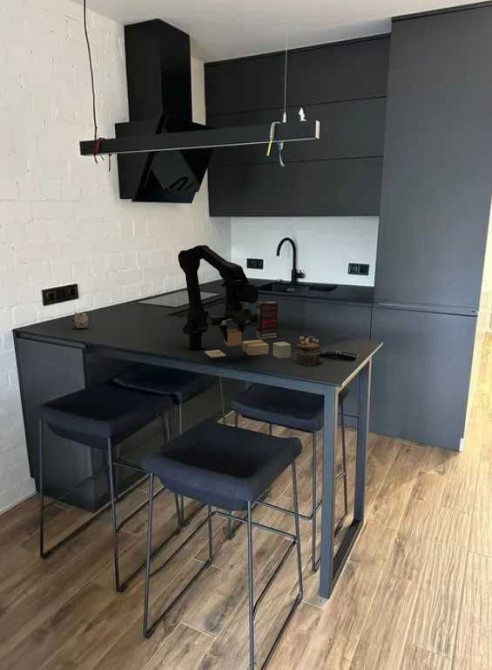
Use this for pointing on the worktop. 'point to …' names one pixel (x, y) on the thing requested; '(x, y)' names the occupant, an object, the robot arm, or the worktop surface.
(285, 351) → the grey plastic cube
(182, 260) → the robot arm
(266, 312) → the supplement box
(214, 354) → the card
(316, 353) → the cupcake
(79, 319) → the beige faceted ball
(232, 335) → the terracotta cube
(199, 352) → the worktop surface
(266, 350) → the maple base block
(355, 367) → the worktop surface
